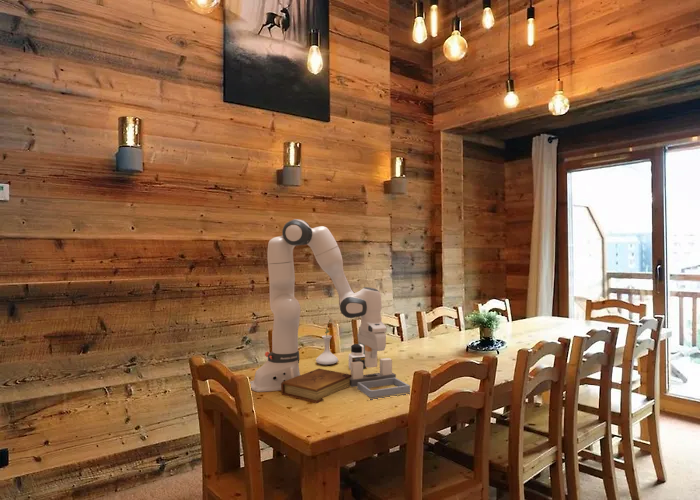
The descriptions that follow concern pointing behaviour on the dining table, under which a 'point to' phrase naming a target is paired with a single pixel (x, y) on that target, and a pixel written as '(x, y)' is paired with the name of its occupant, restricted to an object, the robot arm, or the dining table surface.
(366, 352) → the marked fuse
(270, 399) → the dining table surface
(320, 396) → the diary
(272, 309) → the robot arm
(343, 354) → the dining table surface
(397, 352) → the dining table surface
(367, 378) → the fuse block
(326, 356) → the flower in vase
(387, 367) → the block
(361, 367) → the block
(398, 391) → the tray
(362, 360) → the medicine bottle
